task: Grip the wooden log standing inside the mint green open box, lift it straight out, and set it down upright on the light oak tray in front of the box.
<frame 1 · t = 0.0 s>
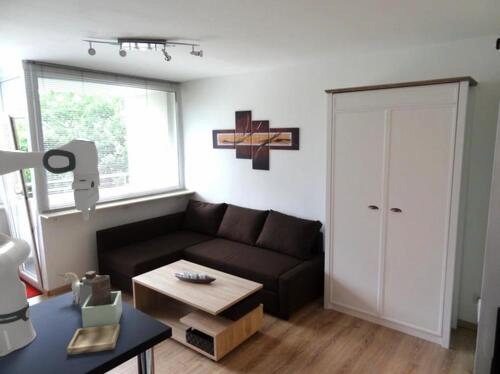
hand: (89, 217, 129), 48 cm above the table, tool pointing down, fingers open, 8 cm apart
wooden log: (103, 321, 144), resting in mint green open box
mint green open box: (103, 321, 144), on the table
tray: (95, 341, 130), on the table
unicorn figurine: (72, 303, 160), on the table
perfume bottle: (93, 310, 154), on the table
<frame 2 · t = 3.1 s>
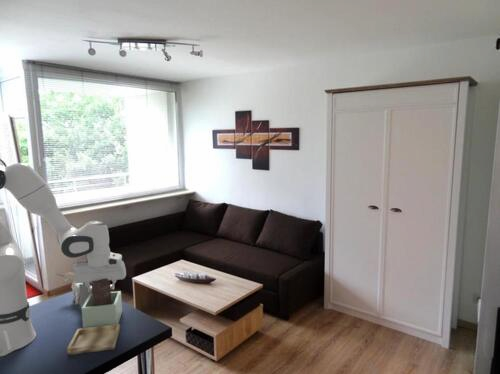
hand: (101, 290, 142), 14 cm above the table, tool pointing down, fingers closed on wooden log, 7 cm apart
wooden log: (103, 321, 144), resting in mint green open box, touching gripper
everything else where it was.
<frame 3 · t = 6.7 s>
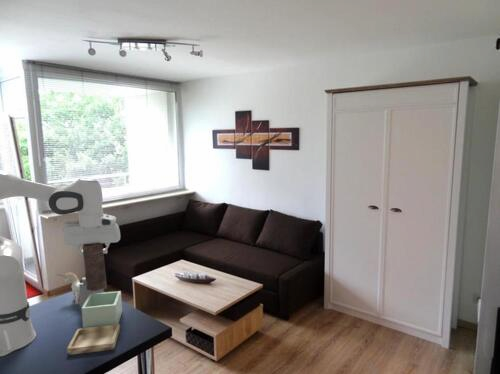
hand: (93, 254, 132), 33 cm above the table, tool pointing down, fingers closed on wooden log, 7 cm apart
wooden log: (96, 289, 134), point 18 cm above the table, touching gripper
everything else where it was.
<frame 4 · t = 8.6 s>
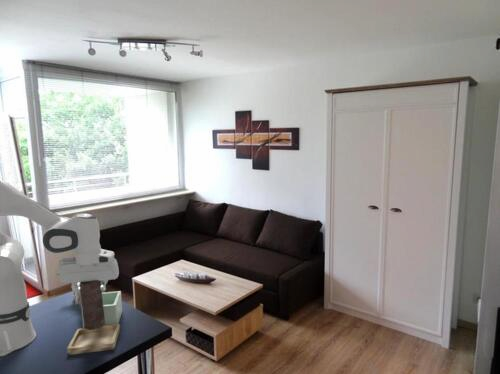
hand: (91, 291, 127), 21 cm above the table, tool pointing down, fingers closed on wooden log, 7 cm apart
wooden log: (95, 328, 129), point 6 cm above the table, touching gripper
everything else where it was.
when the fingers open (16 cm above the table, at t = 10.1 s): wooden log stays where it is, resting on tray.
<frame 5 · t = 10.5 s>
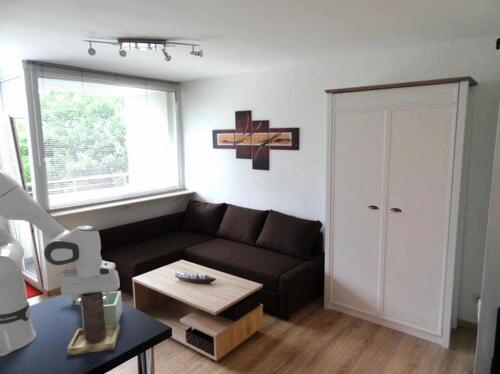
hand: (92, 302, 127), 16 cm above the table, tool pointing down, fingers open, 8 cm apart
wooden log: (95, 339, 130), point 1 cm above the table, touching tray
everything else where it was.
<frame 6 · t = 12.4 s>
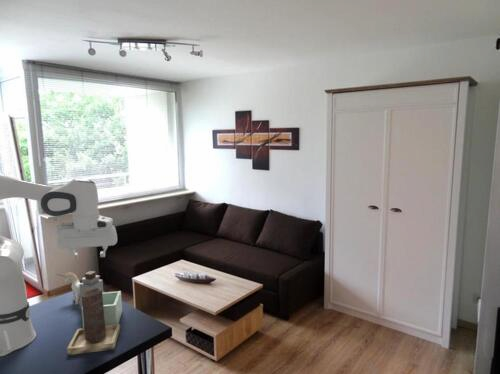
hand: (89, 257, 126), 34 cm above the table, tool pointing down, fingers open, 8 cm apart
nothing on the table moved.
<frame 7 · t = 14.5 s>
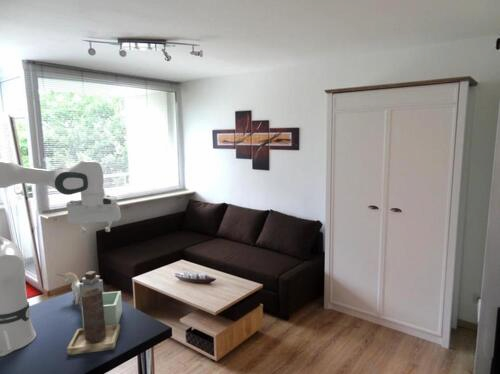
hand: (95, 232, 140), 39 cm above the table, tool pointing down, fingers open, 8 cm apart
nothing on the table moved.
at the end: wooden log inside the target area on the tray (0.2 cm from its centre), point 0.8 cm above the tray's base; wooden log tilted 0°; the gripper is holding nothing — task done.
